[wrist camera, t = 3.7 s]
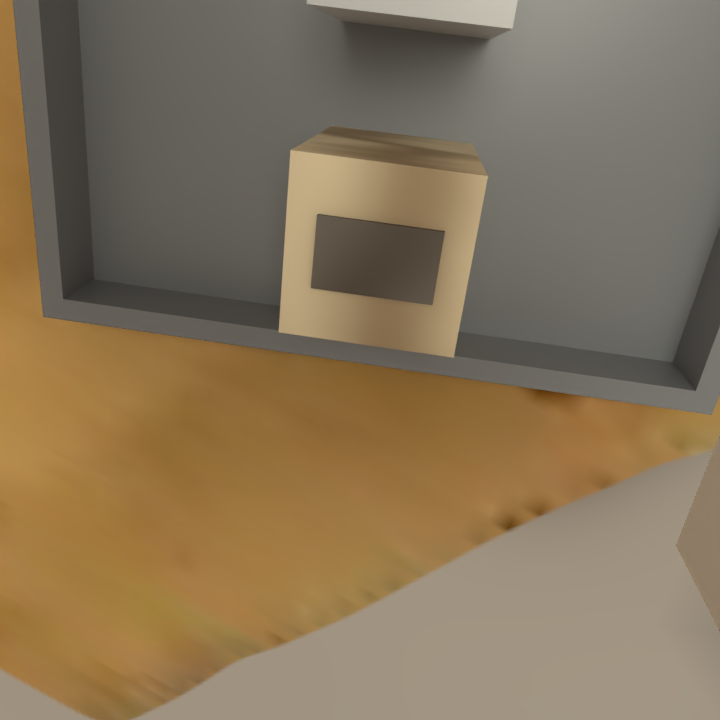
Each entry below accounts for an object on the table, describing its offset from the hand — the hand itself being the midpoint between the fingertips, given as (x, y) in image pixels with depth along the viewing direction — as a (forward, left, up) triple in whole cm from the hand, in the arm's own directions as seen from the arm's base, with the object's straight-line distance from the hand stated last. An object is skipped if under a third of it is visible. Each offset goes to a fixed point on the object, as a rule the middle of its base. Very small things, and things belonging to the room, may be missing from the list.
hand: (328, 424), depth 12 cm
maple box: (0, 0, -20) cm, 20 cm away
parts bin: (0, +5, -20) cm, 21 cm away
